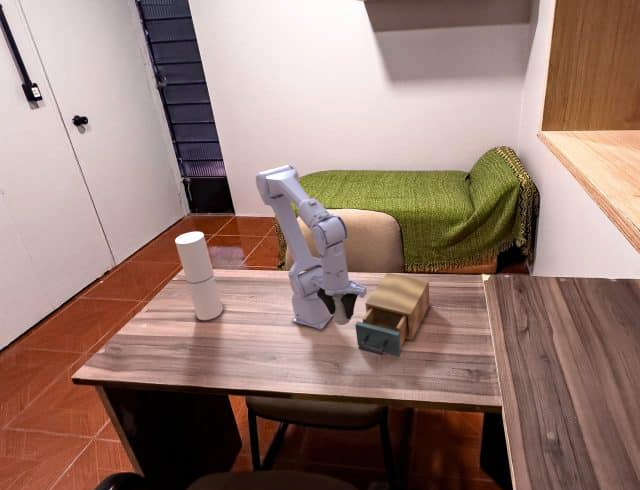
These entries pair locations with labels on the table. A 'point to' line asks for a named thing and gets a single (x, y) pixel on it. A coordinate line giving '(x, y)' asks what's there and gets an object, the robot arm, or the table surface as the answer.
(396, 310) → the cabinet
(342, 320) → the chess piece
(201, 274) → the cylindrical container
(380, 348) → the drawer
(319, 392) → the table surface
